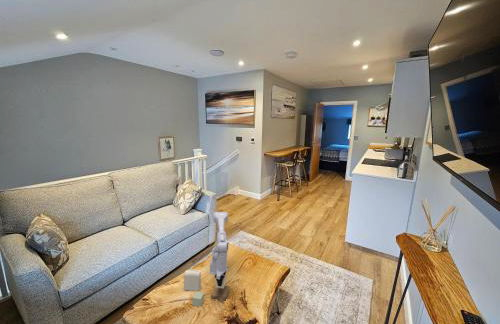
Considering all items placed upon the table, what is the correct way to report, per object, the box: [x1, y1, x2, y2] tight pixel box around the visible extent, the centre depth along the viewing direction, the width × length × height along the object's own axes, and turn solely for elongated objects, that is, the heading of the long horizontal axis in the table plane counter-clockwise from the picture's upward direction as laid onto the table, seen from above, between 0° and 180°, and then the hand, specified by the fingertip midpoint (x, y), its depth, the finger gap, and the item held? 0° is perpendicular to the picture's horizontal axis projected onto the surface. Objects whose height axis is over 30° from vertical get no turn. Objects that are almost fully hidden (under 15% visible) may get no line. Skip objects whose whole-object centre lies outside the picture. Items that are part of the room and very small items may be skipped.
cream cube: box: [215, 274, 227, 288], centre depth 122 cm, size 5×5×5 cm
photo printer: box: [183, 269, 202, 292], centre depth 127 cm, size 10×4×12 cm, turn 90°
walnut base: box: [210, 284, 231, 302], centre depth 123 cm, size 9×9×3 cm
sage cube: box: [191, 291, 205, 307], centre depth 116 cm, size 5×5×5 cm
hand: (221, 282), depth 122 cm, fingers closed on cream cube, 5 cm apart
